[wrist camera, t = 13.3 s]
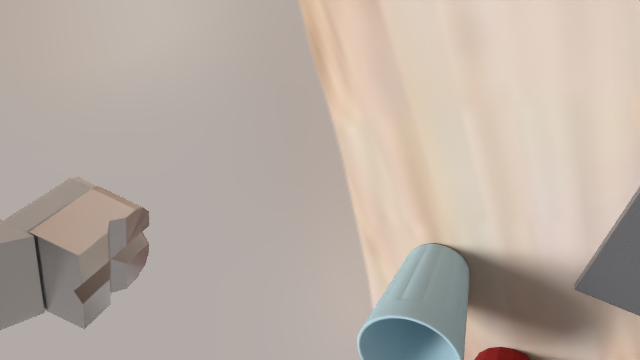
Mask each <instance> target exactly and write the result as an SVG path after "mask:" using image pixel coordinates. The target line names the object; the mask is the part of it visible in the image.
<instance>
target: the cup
mask: <svg viewBox="0 0 640 360" xmlns="http://www.w3.org/2000/svg"><path fill="white" fill-rule="evenodd" d="M468 293H469V268H468V265H467V263H466V262H465V260H464V259H463V257H462V256H461V255H460V254H458V253H457V252H456V251H454V250H453V249H451V248H449V247H447V246H444V245H440V244H424V245H421V246H418V247H417V248H415V249H414V250H412V251H411V252H410V253H409V255H408V256H407V258H406V259H405V261H404V262H403V264H402V266H401V267H400V269H399V270H398V272H397V273H396V275H395V277H394V278H393V280H392V281H391V283H390V284H389V286H388V288H387V289H386V291H385V292H384V294H383V296H382V297H381V299H380V300H379V302H378V303H377V305H376V307H375V308H374V310H373V311H372V313H371V314H370V316H369V317H368V319H367V321H366V322H365V324H364V325H363V327H362V328H361V330H360V332H359V335H358V338H357V348H358V352H359V355H360V357H361V359H362V360H464V346H465V333H466V320H467V307H468Z"/></svg>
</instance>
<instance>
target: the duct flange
mask: <svg viewBox="0 0 640 360" xmlns="http://www.w3.org/2000/svg"><path fill="white" fill-rule="evenodd" d="M575 290H577V291H580V292H582V293H585V294H587V295H590V296H592V297H595V298H597V299H600V300H602V301H605V302H607V303H609V304H612V305H614V306H617V307H619V308H622V309H624V310H627V311H629V312H632V313H634V314H637V315H639V316H640V187H639V189H638V190H637V192H636V193H635V195H634V196H633V198H632V199H631V201H630V202H629V204H628V205H627V207H626V208H625V210H624V211H623V213H622V214H621V216H620V217H619V219H618V220H617V222H616V223H615V225H614V226H613V228H612V229H611V231H610V232H609V234H608V235H607V237H606V238H605V240H604V241H603V243H602V244H601V246H600V247H599V249H598V250H597V252H596V253H595V255H594V256H593V258H592V259H591V261H590V262H589V264H588V265H587V267H586V268H585V270H584V271H583V273H582V274H581V276H580V277H579V279H578V280H577V282H576V283H575Z"/></svg>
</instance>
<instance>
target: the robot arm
mask: <svg viewBox="0 0 640 360" xmlns="http://www.w3.org/2000/svg"><path fill="white" fill-rule="evenodd" d="M148 226H149V211H147V210H146V209H145V208H143V207H141V206H139V205H137V204H135V203H133V202H131V201H128V200H126V199H124V198H122V197H120V196H118V195H116V194H114V193H112V192H110V191H108V190H106V189H104V188H102V187H99V186H96V185H95V184H93V183H90V182H88V181H86V180H84V179H82V178H80V177H76V178H69V179H68V180H66V181H64V182H63V183H62V184H60V185H58V186H57V187H55V188H54V189H52V190H50V191H49V192H47V193H46V194H44V195H43V196H41V197H39V198H38V199H36V200H35V201H33V202H32V203H30V204H28V205H27V206H25V207H24V208H22V209H21V210H19V211H18V212H16V213H14V214H13V215H11V216H10V217H8V218H7V219H5V220H1V219H0V330H2V329H4V328H7V327H9V326H12V325H15V324H17V323H19V322H22V321H24V320H27V319H30V318H32V317H35V316H37V315H40V314H43V313H44V312H45V310H46V311H48V312H51V313H53V314H54V315H57V316H58V317H61V318H63V319H65V320H67V321H69V322H71V323H73V324H75V325H78V326H79V327H81V328H84V329H85V328H86V327H87V326H88V325H89V324H90V323H91V322H92V321H93V320H95V319H96V318H97V317H98V316H99V315H100V314H101V313H102V312H103V311H104V310H105V309H106V308H107V307H108V306H109V305H110V302H111V293H112V292H116V291H119V290H122V289H126V288H127V287H129V285H130V284H131V283H132V282H133V281H134V280H135V279H136V278H137V277H138V276H139V274H140V272H141V271H142V269H143V267H144V266H145V263H146V260H147V256H148V252H149V243H148V241H147V239H146V237H145V236H144V234H143V232H142V231H144V230H145V229H146V228H147V227H148Z"/></svg>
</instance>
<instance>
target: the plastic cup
mask: <svg viewBox="0 0 640 360" xmlns="http://www.w3.org/2000/svg"><path fill="white" fill-rule="evenodd" d="M475 360H530V359H529V358H528V357H527V356H526V355H524V354H522V353H520V352H517V351H515V350H513V349H508V348H502V347H497V348H488V349H486V350H484V351H483V352H481V353H479V354H478V356H477V357H476V359H475Z"/></svg>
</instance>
